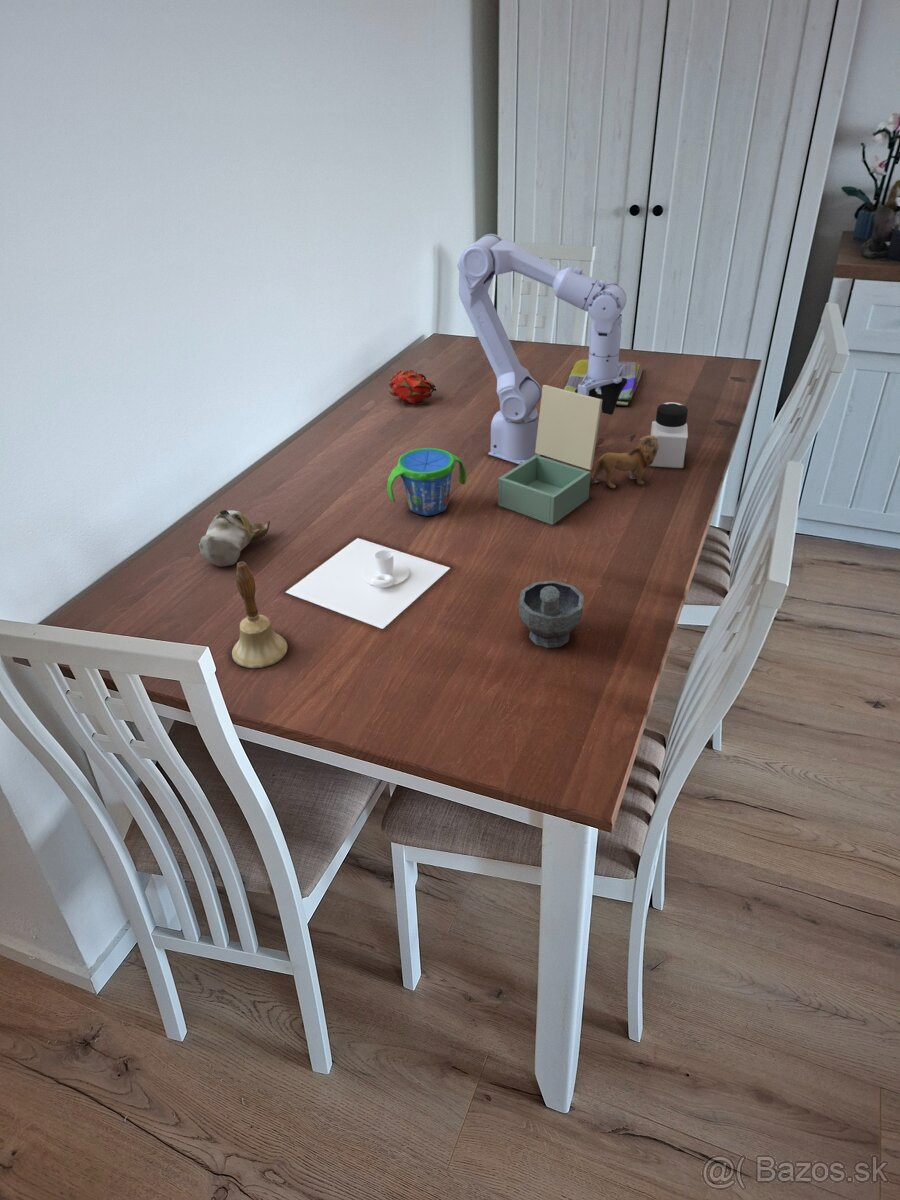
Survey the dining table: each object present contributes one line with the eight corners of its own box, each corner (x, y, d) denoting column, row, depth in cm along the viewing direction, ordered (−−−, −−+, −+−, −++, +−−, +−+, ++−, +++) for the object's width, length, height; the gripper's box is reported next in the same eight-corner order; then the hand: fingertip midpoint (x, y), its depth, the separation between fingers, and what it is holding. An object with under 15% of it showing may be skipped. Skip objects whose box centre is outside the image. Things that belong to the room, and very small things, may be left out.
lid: (600, 400, 154) (602, 399, 154) (542, 385, 160) (545, 384, 161) (589, 470, 160) (592, 469, 161) (534, 452, 167) (537, 451, 167)
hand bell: (285, 666, 125) (269, 577, 116) (228, 670, 125) (208, 581, 115) (289, 632, 132) (274, 545, 122) (235, 636, 131) (216, 548, 122)
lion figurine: (646, 470, 173) (651, 429, 168) (660, 481, 169) (666, 440, 164) (582, 483, 169) (585, 441, 164) (594, 495, 165) (598, 452, 160)
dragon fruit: (387, 404, 209) (433, 415, 207) (379, 395, 201) (427, 406, 199) (396, 370, 209) (442, 381, 207) (388, 360, 200) (436, 371, 199)
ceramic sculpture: (177, 526, 142) (213, 489, 154) (186, 571, 146) (220, 531, 159) (238, 531, 140) (269, 493, 152) (245, 576, 145) (275, 536, 157)
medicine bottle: (683, 469, 173) (691, 413, 166) (648, 466, 175) (654, 411, 168) (682, 453, 179) (690, 400, 172) (648, 451, 180) (654, 398, 173)
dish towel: (557, 401, 204) (557, 390, 202) (575, 366, 223) (576, 355, 221) (630, 408, 199) (631, 396, 198) (642, 371, 218) (644, 361, 217)
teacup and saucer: (389, 595, 139) (387, 575, 137) (350, 582, 143) (348, 562, 140) (418, 570, 145) (417, 550, 143) (380, 557, 149) (379, 538, 146)
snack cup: (396, 528, 157) (393, 479, 151) (381, 502, 165) (378, 454, 159) (475, 513, 161) (475, 464, 155) (457, 488, 169) (456, 441, 163)
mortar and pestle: (522, 613, 134) (524, 549, 127) (582, 618, 133) (587, 554, 126) (514, 658, 125) (515, 591, 118) (578, 664, 124) (583, 597, 117)
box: (552, 525, 156) (554, 497, 153) (497, 505, 163) (498, 478, 160) (588, 498, 164) (590, 471, 161) (534, 480, 171) (535, 454, 167)
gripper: (602, 367, 155) (597, 436, 163) (641, 345, 164) (634, 411, 172) (569, 359, 159) (565, 427, 166) (609, 339, 168) (603, 404, 176)
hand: (598, 419), depth 169 cm, fingers open, 6 cm apart
